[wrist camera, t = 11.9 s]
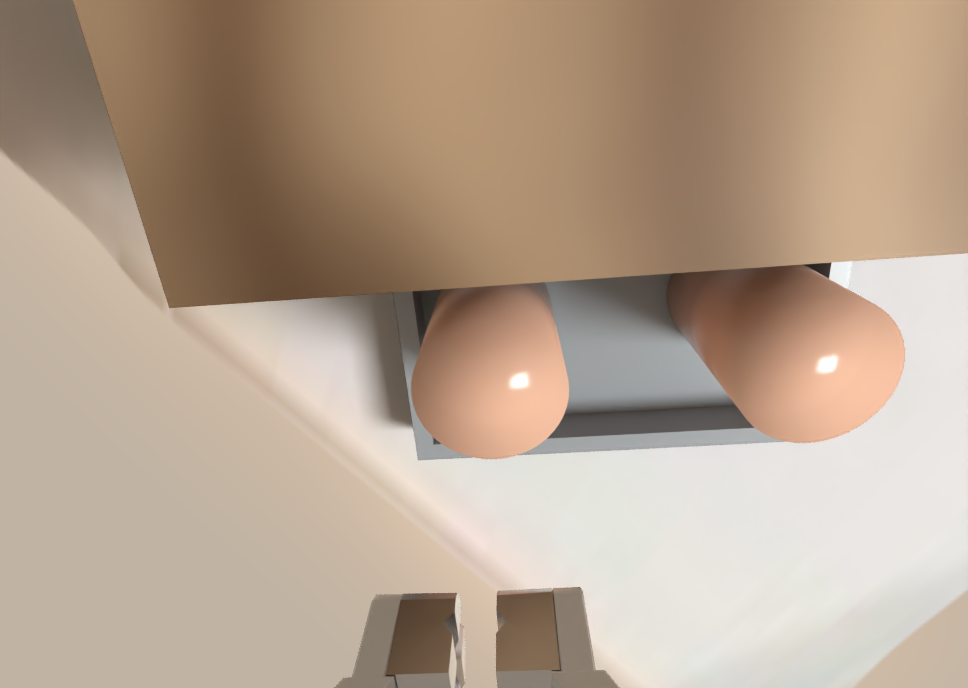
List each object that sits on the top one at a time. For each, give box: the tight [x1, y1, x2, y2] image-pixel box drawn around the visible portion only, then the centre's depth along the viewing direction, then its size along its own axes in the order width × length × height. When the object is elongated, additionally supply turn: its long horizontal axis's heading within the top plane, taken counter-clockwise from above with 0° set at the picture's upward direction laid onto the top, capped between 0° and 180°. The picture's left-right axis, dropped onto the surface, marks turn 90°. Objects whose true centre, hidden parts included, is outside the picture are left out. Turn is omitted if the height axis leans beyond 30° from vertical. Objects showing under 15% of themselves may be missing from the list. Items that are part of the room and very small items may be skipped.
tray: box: [393, 261, 853, 460], centre depth 24 cm, size 18×15×3 cm
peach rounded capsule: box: [411, 282, 569, 459], centre depth 22 cm, size 5×5×8 cm
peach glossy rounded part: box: [667, 264, 905, 443], centre depth 21 cm, size 5×5×8 cm
